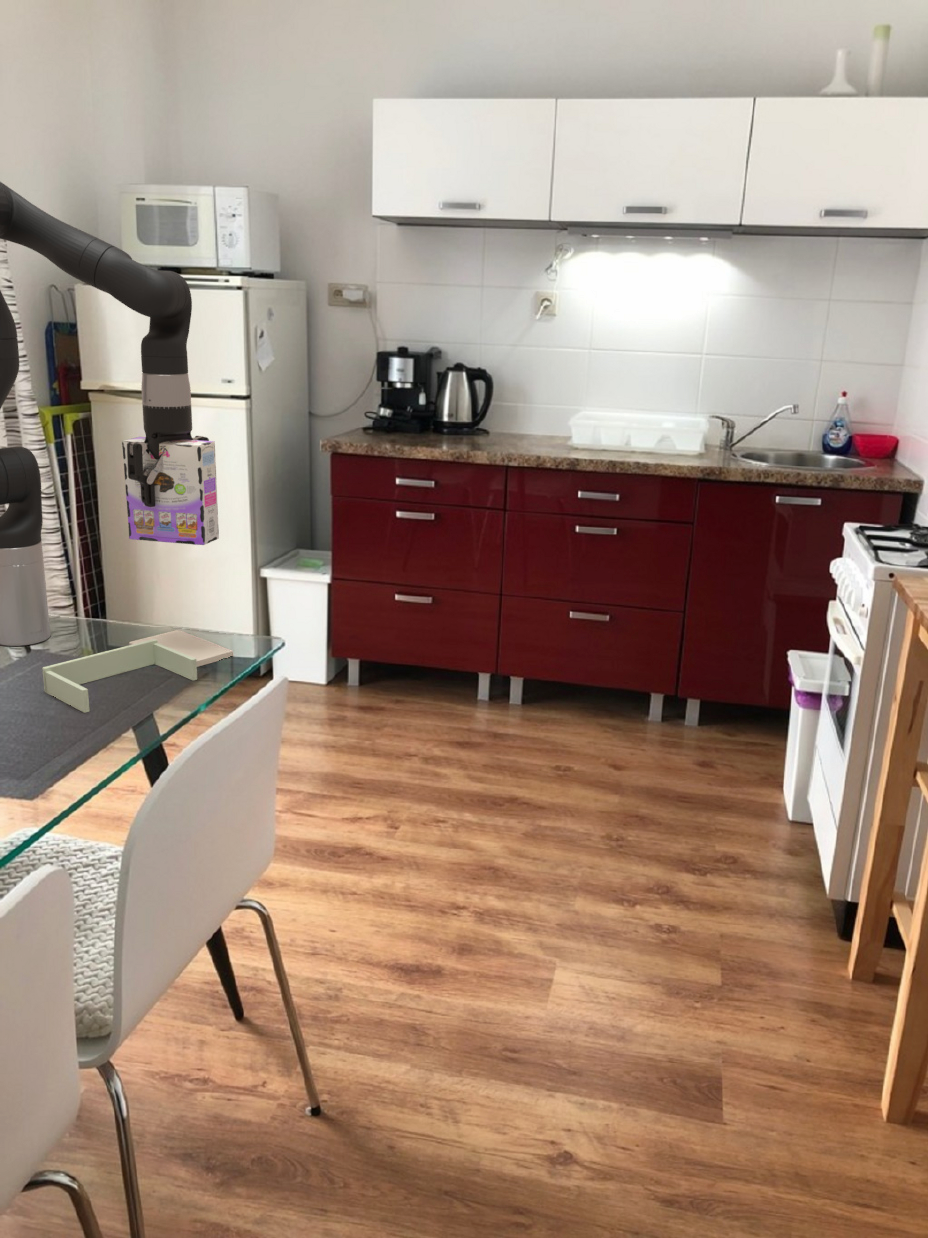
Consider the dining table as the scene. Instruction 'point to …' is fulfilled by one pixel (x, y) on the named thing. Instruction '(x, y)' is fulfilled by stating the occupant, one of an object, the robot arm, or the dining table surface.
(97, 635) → the dining table surface
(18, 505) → the robot arm
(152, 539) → the candy box
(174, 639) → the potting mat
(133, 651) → the green u-shaped frame
